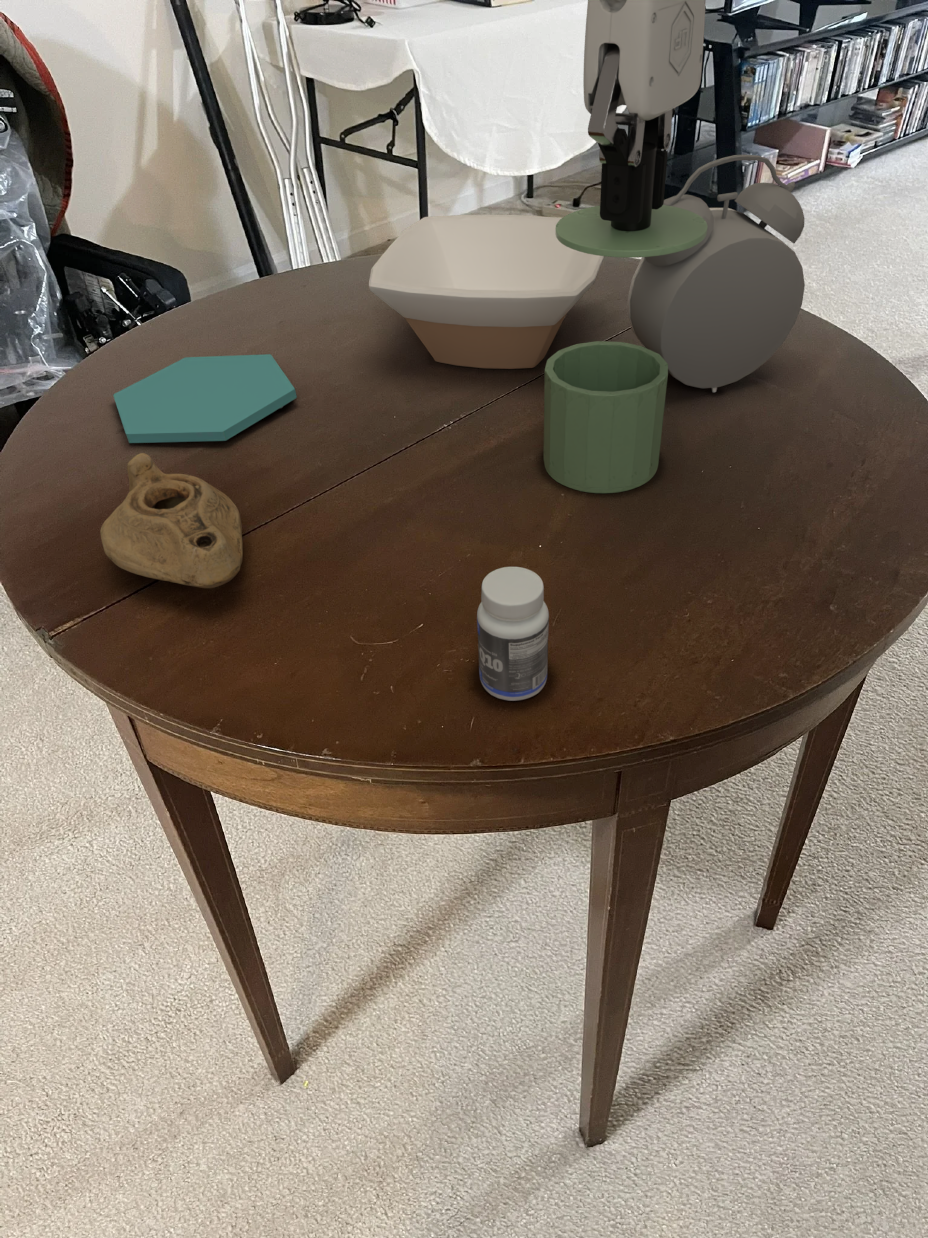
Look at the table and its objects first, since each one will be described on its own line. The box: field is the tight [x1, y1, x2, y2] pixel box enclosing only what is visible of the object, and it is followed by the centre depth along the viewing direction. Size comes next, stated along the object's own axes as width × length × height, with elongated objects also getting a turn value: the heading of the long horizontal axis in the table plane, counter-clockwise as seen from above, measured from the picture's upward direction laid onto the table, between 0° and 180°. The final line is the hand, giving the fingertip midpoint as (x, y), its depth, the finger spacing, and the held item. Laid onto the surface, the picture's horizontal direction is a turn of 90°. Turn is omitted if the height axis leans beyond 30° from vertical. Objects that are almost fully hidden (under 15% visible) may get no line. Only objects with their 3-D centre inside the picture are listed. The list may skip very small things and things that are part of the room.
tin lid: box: [555, 142, 707, 259], centre depth 69 cm, size 11×11×7 cm
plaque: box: [112, 353, 298, 444], centre depth 98 cm, size 17×2×20 cm
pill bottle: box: [476, 566, 550, 702], centre depth 62 cm, size 5×5×8 cm
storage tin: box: [542, 340, 669, 494], centre depth 83 cm, size 10×10×10 cm
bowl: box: [368, 214, 605, 370], centre depth 103 cm, size 24×25×11 cm
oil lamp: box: [99, 452, 244, 589], centre depth 74 cm, size 11×15×8 cm
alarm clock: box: [627, 154, 806, 393], centre depth 90 cm, size 16×9×22 cm, turn 108°
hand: (631, 210), depth 70 cm, fingers closed on tin lid, 3 cm apart
